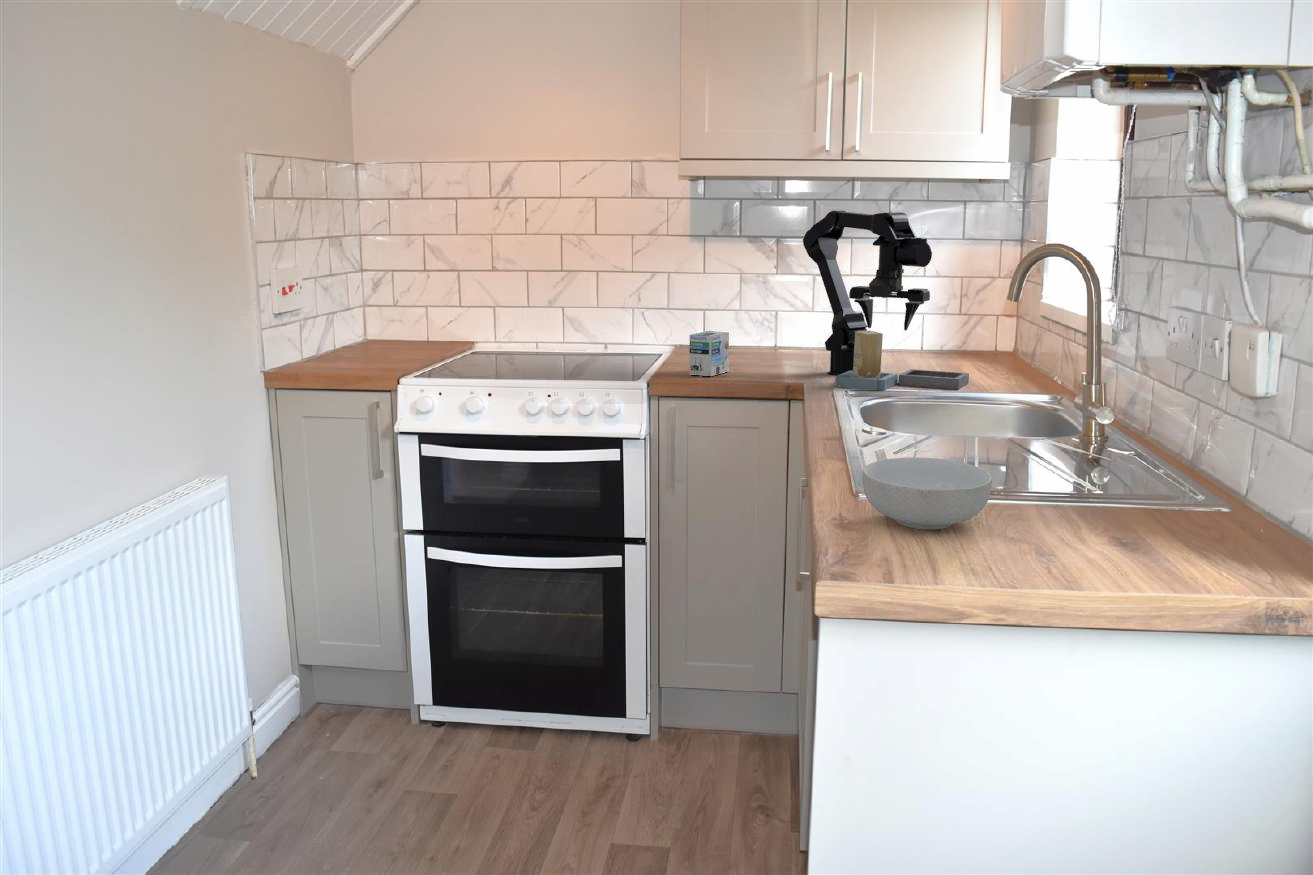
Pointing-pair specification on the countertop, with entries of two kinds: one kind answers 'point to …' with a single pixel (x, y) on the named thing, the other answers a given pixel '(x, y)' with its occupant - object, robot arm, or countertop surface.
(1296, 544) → the countertop surface
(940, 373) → the metal collar
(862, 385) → the slate tray
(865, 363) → the skincare box
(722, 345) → the light bulb box
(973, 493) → the cereal bowl
